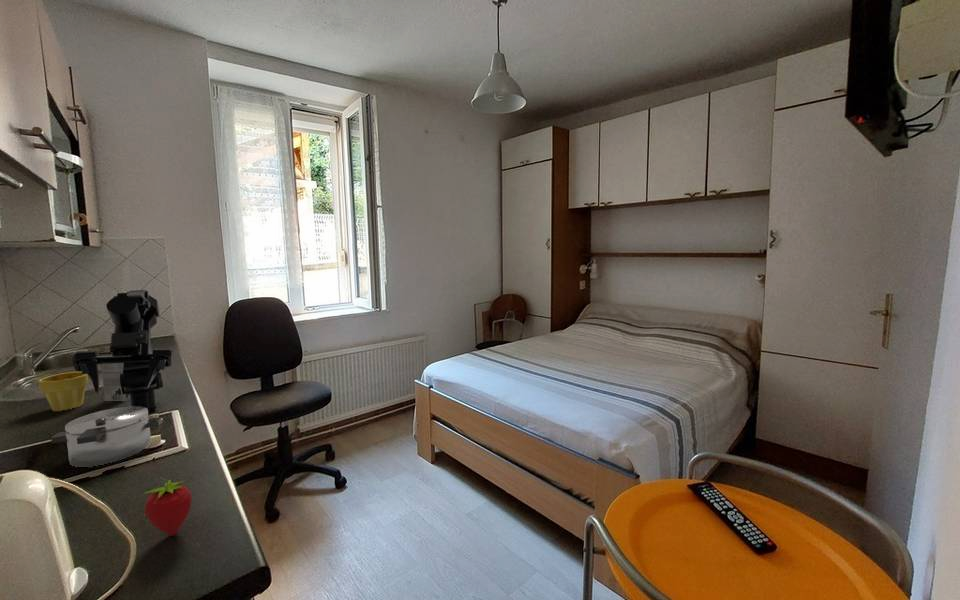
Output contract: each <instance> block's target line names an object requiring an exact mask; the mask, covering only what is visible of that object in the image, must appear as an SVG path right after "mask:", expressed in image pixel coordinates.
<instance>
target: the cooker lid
mask: <svg viewBox="0 0 960 600" xmlns="http://www.w3.org/2000/svg"><path fill="white" fill-rule="evenodd" d="M147 416H149V412H148V409H147V408H145V407H140V406H131V405H129V406H123V407H122V406H121V407H114V408H109V409H104V410H99V411H95V412H92V413H89V414H85V415H83V416H80V417H77V418H75V419H72V420H70V421H69V422H68V423H66V424H65V425H64V430H65V431H64V432H66V433H67V434H70V435H80V436H79V437H78V438H77V444H83V443H89V442H95V441H98V440H99V439H100V438H101V437H102V436H103V435H104V434H105V433H106V432H107V431H111V430H115V429H119V428H123V427H126V426H129V425H132V424H134V423H137V422H139V421H141V420H143V419H144V418H146V417H147Z"/></svg>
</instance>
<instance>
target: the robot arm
mask: <svg viewBox="0 0 960 600" xmlns="http://www.w3.org/2000/svg"><path fill="white" fill-rule="evenodd" d="M116 294H117V295H113V297H112V298H111V299H109V300H108V302H107V303H106V305H105V306H106V309H107V313H108V314H109V317H110V319H111V322H112V324H114V331H113V333H111V337H110V344H109V345H110V346H109V350H110V353H111V356H100V355H98V352H97V350H78V351H76V352H74V353H73V355H72V360H71V363H72V365H73V369H74V372H82V374H88V378H90V381H91V382H92V386H93V388H94V392H95V394H98V393H99V389H100V377H99V376H100V375H99V374H100V373H99V365H101V364H109V363H124V366H123V373H121V374H120V384H121V390H122V395H124V394H128V393H130V400H129V401H130V406H140V407H145V408H147V409H148V413H152V412H153V413H154V412H156V411H157V410H158V409H159V408H160V406H161V403H160V402H159V403H157V397H156V396H157V395H156V390H160V389H161V388H163V387H164V384H163V383H164V382H163V376H162V373H161V370H162V371H163V370H165V369H166V368H169V367H171V366H172V361H173V360H172V357H173V356H172V355H173V354H172V352H173V351H172V349H171V348H169V347H168V348H153V349H152V353H151V330H152V328H153V327H154V326H155V325H157V323H158V317H160V308H159V307H160V306H159V302H158V300H157V299H156V298H154V297H153V296H151V295H150V293H149V290H145V289H140V290H138V289H137V290H132V289H131V290H129V291H127V292H117V293H116Z"/></svg>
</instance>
